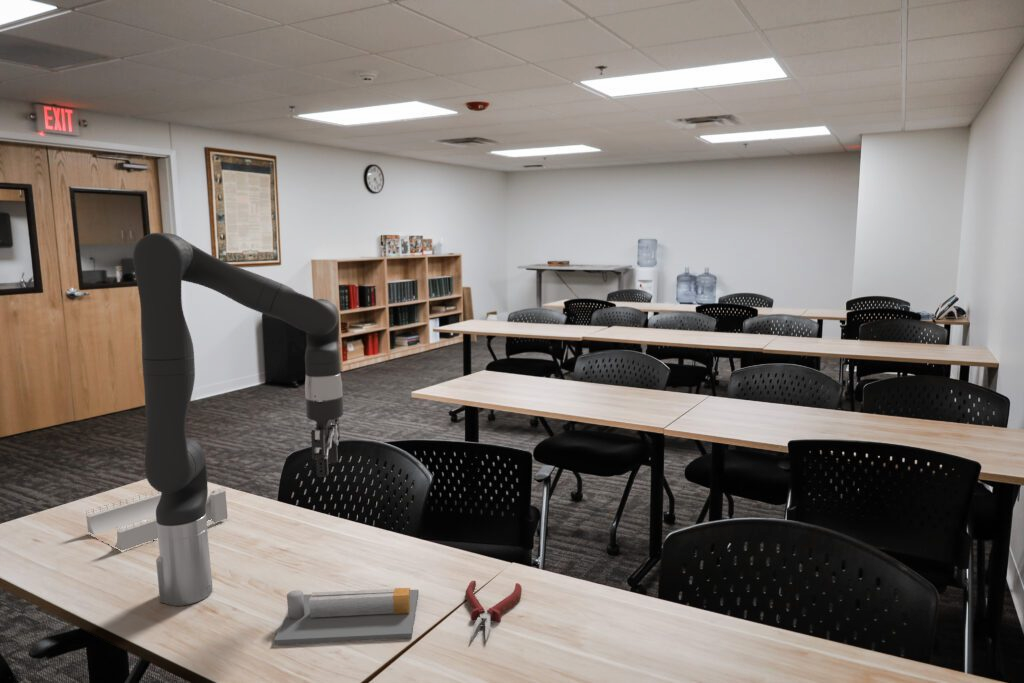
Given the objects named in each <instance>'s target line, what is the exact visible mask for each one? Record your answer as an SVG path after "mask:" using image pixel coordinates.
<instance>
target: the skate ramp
mask: <svg viewBox="0 0 1024 683" xmlns="http://www.w3.org/2000/svg"><path fill="white" fill-rule="evenodd" d="M209 491H210V492H209V493H210V494H209V495H208V496H207V501H206V506H205V507H206V520H207V521H208V520H211V519H212V520H211V521H212V523H219V522H221V521H225V520H228V506H227V505H228V504H227V494H226V490H225V486H224V485H222V489H221V488H218V489H216V490H215V489H214V490H212V489H210V490H209ZM150 492H151V495H150ZM148 493H149V494H148ZM155 493H156V494H155ZM161 493H162V492H159V491H155V492H154V493H153V490H152V491H148V492H145V493H144V494H145V495H144V497H142V498H141V496H142V495H143V493H142V494H138V495H137V497H138V496H139V497H138V498H139V499H137V497H136V498H134V497H133V496H132V497H128V498H125V500H126V501H123V499H122V500H120V501H119V500H118V501H117V502H118V503H119V505H117V503H116V504H115V503H113V502H112V503H109V504H108V503H107V505H106V504H105V506H106V507H104V508H101V507H103V505H102V506H101V505H100V506H98V507H97V509H98V508H99V509H98V511H97V512H95V510H93V509H89V510H87V511H85V512H86V514H85V515H86V523H87V524H86V525H87V532H90V533H92V534H94V535H96V534H100V533H104V532H107V531H110V530H113V529H116V528H119V527H120V528H121V527H122V526H123V527H124V526H125V525H130V524H133V526H131V527H128V528H127V526H126V528H125V529H121V530H119V529H120V528H119V529H118V530H119V531H117V543H116V545H115V547H117V548H118V549H120V550H125V549H128V548H131V547H134V546H136V545H139V544H142V543H145V542H148V541H152V540H154V539H157V538H158V530H157V521H156V518H155V519H152V520H149V521H148V519H149V518H153V517H156V508H157V505H158V503H159V501H160V498H161ZM148 495H150V496H148ZM131 498H132V499H131ZM128 499H131V501H130V502H128ZM136 499H137V500H136ZM121 501H122V502H121ZM122 503H124V504H122ZM111 504H113V505H111ZM108 505H111V508H110V507H109V508H108ZM116 505H117V506H116ZM112 506H113V507H112ZM105 508H106V509H105ZM103 509H104V510H103ZM91 510H92V511H91ZM88 511H89V512H88ZM146 519H147V521H146V522H143V523H141V521H143V520H146ZM224 519H225V520H224ZM139 521H140V524H137V525H134V523H136V522H139ZM218 521H219V522H218Z"/></svg>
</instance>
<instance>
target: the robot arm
mask: <svg viewBox="0 0 1024 683" xmlns="http://www.w3.org/2000/svg"><path fill="white" fill-rule="evenodd" d="M132 260H133V267H134V275H135V279H136V286H137V291H138V296H139V302H140V330H141V332H140V334H141V337H140V338H141V362H142V378H143V389H144V405H145V416H146V417H145V418H146V432H145V434H146V437H145V452H144V474H145V477H146V480H147V482H148V483H149V485H150V486H151V487H152V488H153V489H154V491H156V492H158V491H159V493H161V498H160V501H159V503H158V505H157V508H156V521H157V530H158V540H157V541H158V548H159V549H158V550H159V556H157V558H156V559H155V565H156V566H155V567H156V573H157V583H158V594H159V602H160V603H161V604H162V603H164V604H168V605H170V606H174V607H175V606H176V607H177V606H178V607H179V606H188V605H191V604H195V603H198V602H200V601H202V600H205V599H206V598H208V597H209V595H211V594H212V592H213V578H212V566H211V556H210V555H211V554H210V546H209V545H210V544H209V543H210V542H209V533H208V531H209V530H208V525H207V524H208V522H207V520H206V507H205V506H206V501H207V498H208V497H209V495H208V494H209V492H208V491H209V488H208V471H207V470H208V469H207V460H206V455H205V452H204V450H203V448H202V446H201V445H200V444H199V443H198V442H196V441H195V440H193V439H191V438H187V431H186V429H187V428H186V427H187V426H186V424H187V423H186V422H187V417H188V412H189V407H190V403H191V400H192V395H193V391H194V386H195V377H196V376H195V375H196V372H195V371H196V370H195V369H196V368H195V365H196V364H195V351H194V343H193V339H192V335H191V332H190V329H189V327H188V323H187V321H186V317H185V315H184V311H183V306H182V304H183V302H182V282H188V283H191V284H195V285H199V286H202V287H205V288H208V289H211V290H213V291H215V292H218V293H219V294H222V295H223V296H225V297H227V298H228V299H231V300H232V301H234V302H236V303H237V304H239V305H242V306H244V307H245V308H248V309H251V310H253V311H256V312H258V313H260V314H263V315H266V316H268V317H272V318H274V319H279V320H281V321H283V322H285V323H287V324H288V325H291V326H293V327H294V328H296V329H298V330H301V331H302V332H305V333H306V334H305V336H306V337H305V338H306V348H305V353H304V364H305V366H304V370H305V381H304V393H305V394H304V395H305V396H304V397H305V409H306V410H305V412H306V413H305V414H306V418H307V419H308V420H310V421H314V422H315V423H316V424H315V427H314V429H311V431H310V436H311V458H312V460H315V461H316V462H315V463H316V464H315V465H316V476H317V477H318V478H322V477H323V478H324V477H325V478H326V477H327V476H328V475H329V464H337V462H338V461H339V458H338V457H339V456H338V446H339V441H341V435H340V434H341V432H340V431H341V430H340V418H342V417H343V416H344V399H343V398H344V396H343V395H344V394H343V380H342V377H341V376H342V374H341V358H340V351H339V340H340V337H339V336H340V314H339V310H338V308H337V306H336V304H334V303H333V302H332V301H331V300H329V299H325V298H318V299H316V298H312V297H310V296H307V295H305V294H303V293H299V292H297V291H295V289H294V288H292V287H290V286H288V285H286V284H283V283H281V282H279V281H276V280H273V279H271V278H268V277H266V276H263V275H260V274H258V273H255V272H252V271H249V270H246V269H243V268H242V267H238V266H237V265H236V266H235V265H233V264H231V263H228V262H226V261H224V260H221V259H219V258H217V257H215V256H213V255H212V254H210V253H207V252H206V251H204V250H202V249H200V248H199V247H197V246H196V245H194V244H192V243H190V242H188V241H187V240H186V239H184V238H183V237H181V236H179V235H177V234H173V233H168V232H167V233H166V232H153V233H149V234H146V235H144V236H142V237H141V238H140V239H139V240H138V241H137V242H136V244H135V246H134V249H133V254H132ZM320 450H321V452H320Z"/></svg>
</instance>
